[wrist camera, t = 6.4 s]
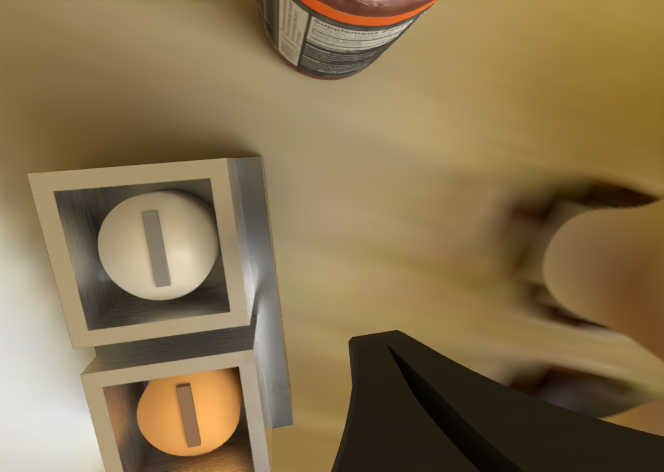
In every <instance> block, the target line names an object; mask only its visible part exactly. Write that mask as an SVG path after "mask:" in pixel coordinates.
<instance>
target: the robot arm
mask: <svg viewBox="0 0 664 472" xmlns="http://www.w3.org/2000/svg"><path fill="white" fill-rule="evenodd" d="M348 343H349V354H350V365H351V376H352V392H351V399H350V405H349V411H348V415H347V420H346V424H345V428H344V432H343V436H342V440H341V443H340V446H339V449H338V452H337V456H336V459H335V462H334V465H333V468H332V471H331V472H664V437H663V436H659V435H655V434H651V433H646V432H643V431H639V430H635V429H631V428H628V427H624V426H621V425H617V424H613V423H610V422H606V421H603V420H600V419H597V418H594V417H590V416H587V415H584V414H581V413H578V412H574V411H571V410H568V409H565V408H562V407H559V406H556V405H554V404H551V403H548V402H545V401H542V400H540V399H537V398H535V397H532V396H530V395H527V394H524V393H522V392H519V391H517V390H514V389H512V388H509V387H507V386H505V385H502V384H500V383H498V382H496V381H493V380H491V379H489V378H487V377H485V376H483V375H481V374H479V373H477V372H474V371H472V370H470V369H468V368H466V367H464V366H462V365H460V364H459V363H457V362H455V361H453V360H451V359H449V358H447V357H445V356H444V355H442V354H440V353H438V352H436V351H435V350H433V349H431V348H429V347H428V346H426V345H424V344H422V343H421V342H419V341H417V340H415V339H414V338H412V337H410V336H408V335H406V334H405V333H403V332H401V331H399V330H394V331H388V332H381V333H375V334H369V335H363V336H357V337H352V338H351V339H350V341H349V342H348Z"/></svg>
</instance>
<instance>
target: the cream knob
mask: <svg viewBox="0 0 664 472" xmlns="http://www.w3.org/2000/svg"><path fill="white" fill-rule="evenodd" d="M98 251H99V256H100V260H101V263H102V265H103V267H104V269H105V270H106V272H107V274H108V275H109V276H110V277H111V279H112V280H113V281H114V282H115V283H116V284H117V285H118V286H120V287H121V288H122V289H124V290H125V291H127V292H129V293H131V294H133V295H135V296H138V297H141V298H145V299H150V300H169V299H175V298H178V297H181V296H183V295H186V294H188V293H189V292H191V291H193V290H194V289H195V288H197V287H198V286H199V285H200V284H201V283H202V282H203V281H204V279H205V278H206V277H207V275H208V274H209V272H210V270H211V269H212V267H213V265H214V264H215V262H216V260H217V258H218V256H219V254H220V251H221V245H220V238H219V232H218V225H217V219H216V214H215V213H214V212H213V210H212V209H211V208H210V207H209V206H208V205H207V204H206V203H205V202H204V201H203V200H201V199H200V198H198V197H197V196H195V195H193V194H191V193H188V192H185V191H181V190H174V189H164V190H157V191H154V192H150V193H146V194H142V195H138V196H135V197H132V198H129V199H127V200H125V201H123V202H121V203H120V204H118V205H117V206H116V207H115V208H113V209H112V210H111V212H110V213H109V214H108V215H107V217H106V218H105V220H104V221H103V223H102V226H101V228H100V232H99V236H98Z"/></svg>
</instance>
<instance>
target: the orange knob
mask: <svg viewBox="0 0 664 472" xmlns="http://www.w3.org/2000/svg"><path fill="white" fill-rule="evenodd" d="M242 396H243V390H242V383H241V377H240V370H239V366H238V367H231V368H225V369H218V370H212V371H205V372H198V373H192V374H185V375H179V376H172V377H165V378H159V379H152V380H151V381H150V383H149V384H148V386H147V388H146V390H145V391H144V393H143V395H142V397H141V399H140V401H139V404H138V409H137V421H138V425H139V428H140V430H141V432H142V434H143V435H144V437H145V438H146V439H147V440H148V441H149V442H150V443H151V444H152V445H153V446H155V447H156V448H158V449H159V450H161V451H164V452H166V453H169V454H173V455H178V456H195V455H200V454H204V453H207V452H210V451H212V450H214V449H216V448H218V447H219V446H221V445H222V444H223V443H225V442H226V441H227V440H228V439H229V438H230V436H231V435H232V434H233V432H234V431H235V429H236V427H237V424H238V421H239V417H240V410H241V403H242Z"/></svg>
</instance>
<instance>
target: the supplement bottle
mask: <svg viewBox="0 0 664 472" xmlns="http://www.w3.org/2000/svg"><path fill="white" fill-rule="evenodd" d="M436 1H437V0H257V4H258V8H259V15H260V18H261V21H262V25H263V28H264V30H265V33H266V35H267V37H268V40H269V42H270V44H271V45H272V46H273V48H274V49H275V51H276V52H277V53H278V54H279V56H280V57H281V58H282V59H283V60H284V61H285V62H286V63H287V64H288V65H290V66H291V67H293V68H294V69H295V70H297V71H298V72H300V73H302V74H305V75H306V76H309V77H312V78H317V79H322V80H337V79H342V78H346V77H350V76H352V75H354V74H357V73H359V72H361V71H362V70H363V69H365V68H366V67H368V66H369V65H370V64H371V63H373V62H374V61H375V60H376V59H377V58H378V57H379V56H380V55H381V54H382V53H383V52H384V51H385V50H387V49H388V48H389V47H390V46H391V45H392V44H393V43H394V42H395V41H396V40H397V39H398V38H399V37H400V36H401V35H402V34H403V33H404V32H405V31H406V30H407V29H408V28H409V27H410V26H411V25H412V24H413V23H414V22H415V21H416V20H417V19H419V18H420V17H421V16H422V14H423V13H424V12H426V11H427V10H428V9H429V8H430V7H431V6H432V5H433V4H434V3H435V2H436Z"/></svg>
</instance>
